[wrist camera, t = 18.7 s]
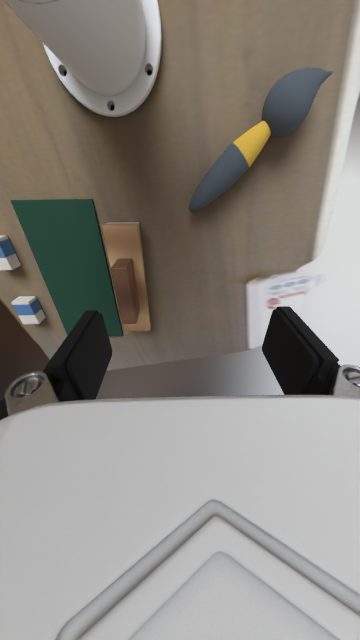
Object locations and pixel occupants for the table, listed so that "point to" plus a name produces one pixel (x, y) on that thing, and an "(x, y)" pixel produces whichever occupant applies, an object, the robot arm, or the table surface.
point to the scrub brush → (128, 273)
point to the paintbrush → (262, 132)
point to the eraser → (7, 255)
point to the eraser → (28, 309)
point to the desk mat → (70, 258)
